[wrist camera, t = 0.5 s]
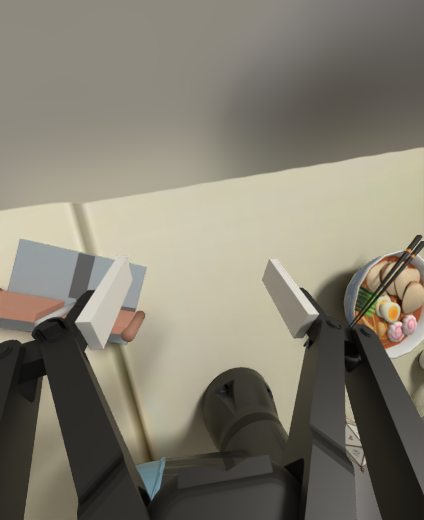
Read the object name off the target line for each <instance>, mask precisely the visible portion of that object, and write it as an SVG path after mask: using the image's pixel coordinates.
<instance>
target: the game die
mask: <svg viewBox="0 0 424 520" xmlns="http://www.w3.org/2000/svg"><path fill="white" fill-rule="evenodd" d="M345 436H346V455H347V457H348V458H349V459H351V460H352V461H353V462H355V463H356V464H358V465H359V466H360V467H361V471H362V472H364V470H363V468H362V467H363V466H365V465H366V460H365V456H364V452H363V449H362V445H361V441H360V437H359V434H358V430H357V426H356V423H355V422H353V421H351V420H349V419H348V418H346V415H345Z"/></svg>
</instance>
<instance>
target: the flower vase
mask: <svg viewBox="0 0 424 520" xmlns="http://www.w3.org/2000/svg"><path fill="white" fill-rule="evenodd" d="M419 363H420V366H421V367H422V368H423V369H424V351H423V352H422V353H421V355H420V358H419Z"/></svg>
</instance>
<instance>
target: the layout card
mask: <svg viewBox="0 0 424 520" xmlns="http://www.w3.org/2000/svg"><path fill="white" fill-rule="evenodd" d="M114 261H115V260H113V259H109V258H104V257H100V256H95V255H91V254H86V253H82V252H78V251H73V250H69V249H64V248H60V247H55V246H51V245H46V244H42V243H38V242H33V241H29V240H24V239H20V241H19V246H18V250H17V254H16V258H15V262H14V266H13V270H12V275H11V279H10V283H9V287H8V291H9V292H15V293H21V294H27V295H33V296H39V297H45V298H51V299H57V300H63V301H65V303H64V307H65V306H67V305H69V304H71V303H73V302H77V300H78V299H79V298H80V296H81V295H82V294H83V293H85V292H86V291H87V290H96V289H97V287H98V286H99V284H100V283H101V281H102V280H103V278H104V276H105V275H106V273H107V272H108V270H109V269H110V267H111V266H112V264H113V262H114ZM129 266H130V271H131V276H132V283H131V285H130V287H129V290H128V292H127V295H126V297H125V299H124V302H123V304H122V306H121V309H120V310H125V311H131V312H135V311H136V307H137V303H138V299H139V295H140V291H141V287H142V283H143V279H144V275H145V271H146V267H144V266H140V265H135V264H131V263H129ZM64 316H65V315H64ZM62 317H63V316H62ZM0 328H6V329H13V330H21V331H29V332H32V331H33V330H34V328H35V327H34V322H28V321H21V320H13V319H6V318H1V320H0ZM107 342H112V343H120V344H127V343H128V342H125V341H123V340H122V338H121V335H119V334H112V333H110V335H109V337H108V340H107Z"/></svg>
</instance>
